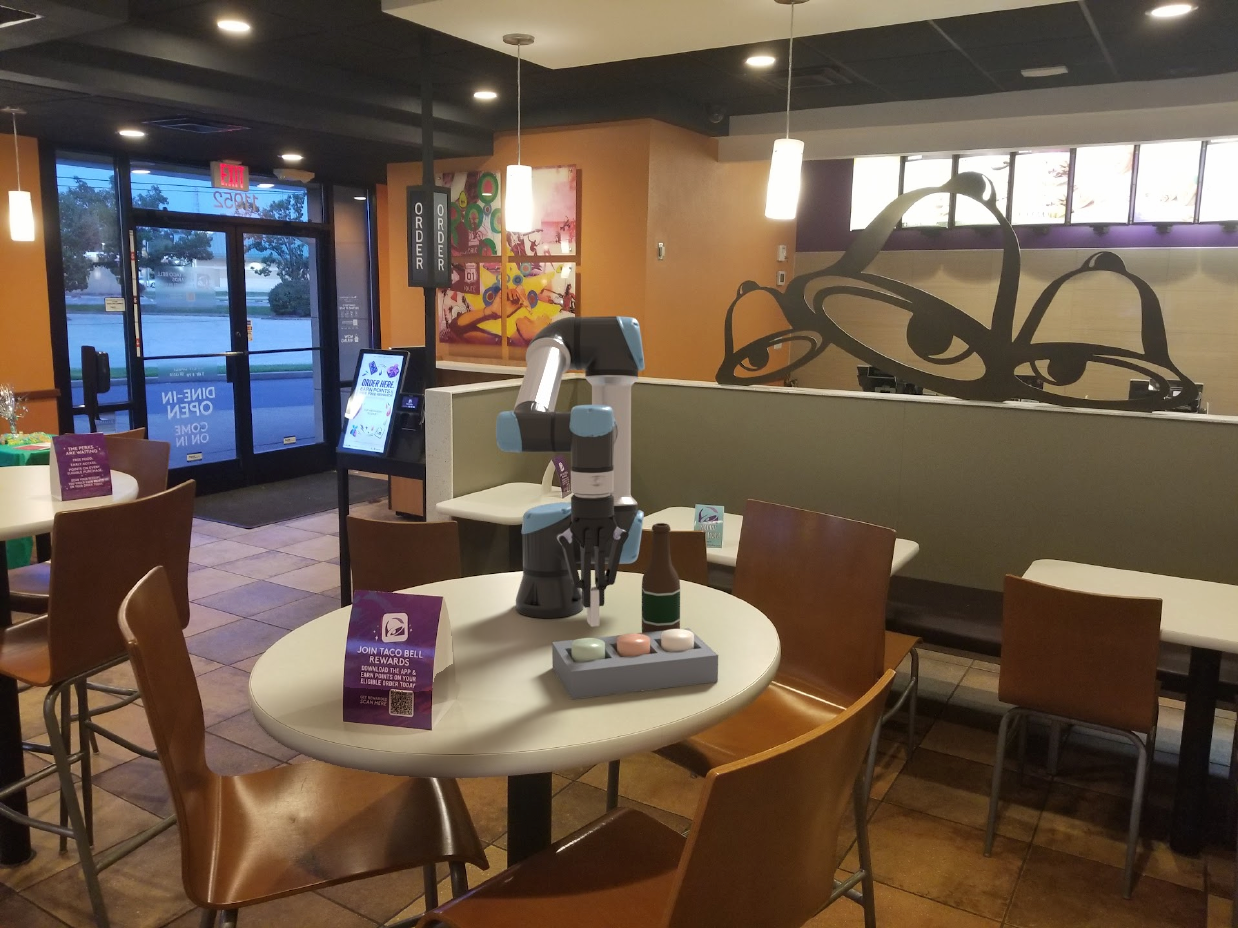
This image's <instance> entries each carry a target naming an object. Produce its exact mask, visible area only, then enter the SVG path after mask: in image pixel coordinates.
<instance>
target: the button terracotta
mask: <svg viewBox="0 0 1238 928" xmlns="http://www.w3.org/2000/svg"><path fill="white" fill-rule="evenodd" d="M620 635H621V636H619V637H618V638H617V654H618V655H619V656H620V657H627V656H636V655H646V654H650V638H649V637H648V636H646V635H643V634H636V633H633V632H632V633H631V632H630V633H624V634H620Z"/></svg>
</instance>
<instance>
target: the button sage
mask: <svg viewBox="0 0 1238 928" xmlns="http://www.w3.org/2000/svg"><path fill="white" fill-rule="evenodd" d="M596 638H597V637H584V638H583V637H582V638H577V639H574V640H575V641H573V642H572V644H571V646H572V660H573V662H582V661H591V660H600V659H605V642H604V641H602V640H600V639H596Z"/></svg>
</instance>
